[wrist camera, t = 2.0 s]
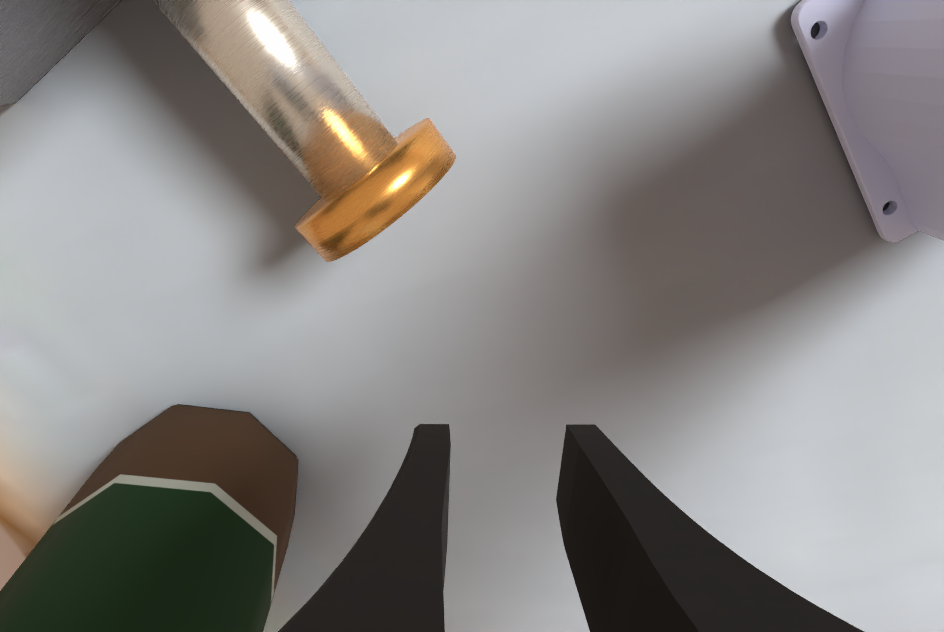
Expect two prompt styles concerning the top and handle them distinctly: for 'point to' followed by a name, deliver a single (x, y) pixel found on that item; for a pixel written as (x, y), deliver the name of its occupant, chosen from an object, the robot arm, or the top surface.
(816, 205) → the top surface
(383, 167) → the pin
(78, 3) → the block
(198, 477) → the beer bottle
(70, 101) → the top surface
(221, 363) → the top surface
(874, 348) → the top surface
